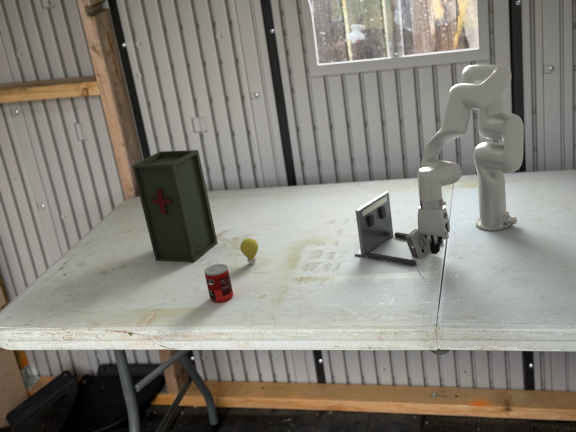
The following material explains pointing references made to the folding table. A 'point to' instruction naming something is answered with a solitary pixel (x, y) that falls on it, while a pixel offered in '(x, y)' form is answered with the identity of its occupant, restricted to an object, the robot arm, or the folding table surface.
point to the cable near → (391, 259)
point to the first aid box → (176, 205)
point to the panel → (374, 224)
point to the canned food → (218, 283)
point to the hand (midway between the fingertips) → (435, 252)
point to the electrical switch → (417, 244)
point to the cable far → (403, 235)
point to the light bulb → (249, 250)
